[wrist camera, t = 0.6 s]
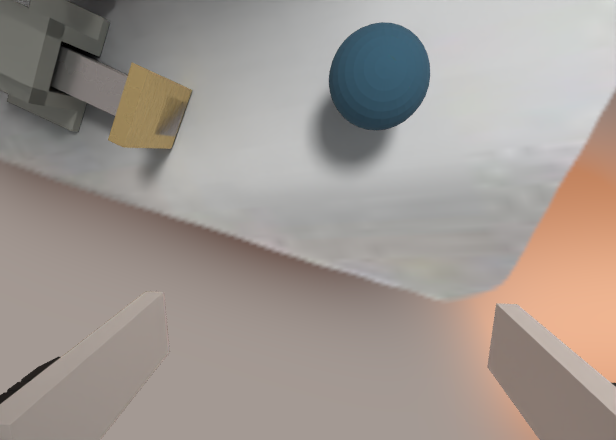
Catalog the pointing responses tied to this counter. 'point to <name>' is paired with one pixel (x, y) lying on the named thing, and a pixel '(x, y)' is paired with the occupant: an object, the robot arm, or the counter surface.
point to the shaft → (125, 98)
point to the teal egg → (379, 76)
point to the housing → (44, 55)
